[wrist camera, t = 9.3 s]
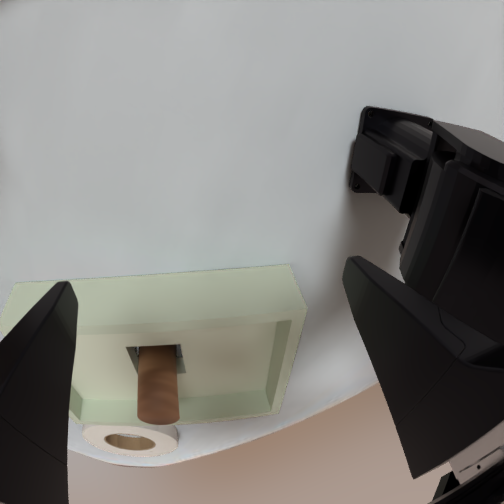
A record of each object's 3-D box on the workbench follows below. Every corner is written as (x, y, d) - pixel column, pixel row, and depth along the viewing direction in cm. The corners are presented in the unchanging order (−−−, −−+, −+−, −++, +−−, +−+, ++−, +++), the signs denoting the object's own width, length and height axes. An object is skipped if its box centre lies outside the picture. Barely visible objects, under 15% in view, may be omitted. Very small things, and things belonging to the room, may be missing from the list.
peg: (173, 331, 29) (176, 407, 22) (177, 353, 31) (182, 424, 24) (135, 333, 28) (132, 409, 22) (143, 355, 30) (142, 425, 24)
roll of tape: (67, 422, 39) (66, 437, 37) (116, 398, 36) (116, 417, 33) (139, 448, 48) (140, 461, 46) (197, 428, 44) (199, 444, 42)
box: (288, 264, 26) (307, 308, 22) (269, 378, 37) (278, 413, 33) (15, 282, 22) (-4, 325, 18) (79, 388, 33) (76, 423, 29)
